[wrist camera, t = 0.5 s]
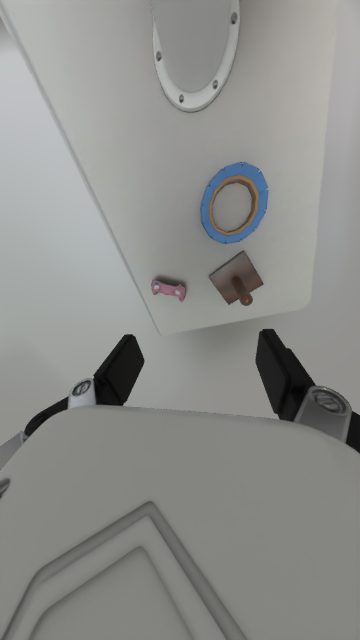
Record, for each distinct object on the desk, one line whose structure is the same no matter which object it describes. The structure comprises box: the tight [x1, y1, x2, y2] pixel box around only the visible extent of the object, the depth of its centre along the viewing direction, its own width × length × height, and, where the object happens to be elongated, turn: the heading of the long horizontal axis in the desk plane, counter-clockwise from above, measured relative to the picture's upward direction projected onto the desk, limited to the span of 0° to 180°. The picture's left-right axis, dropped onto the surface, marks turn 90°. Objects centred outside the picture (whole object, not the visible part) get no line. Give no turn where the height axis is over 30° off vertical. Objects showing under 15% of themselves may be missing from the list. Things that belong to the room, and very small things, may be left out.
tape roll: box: [201, 162, 268, 244], centre depth 31 cm, size 13×13×2 cm
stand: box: [209, 251, 263, 306], centre depth 33 cm, size 10×10×15 cm
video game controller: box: [152, 280, 186, 302], centre depth 41 cm, size 10×5×7 cm, turn 79°
